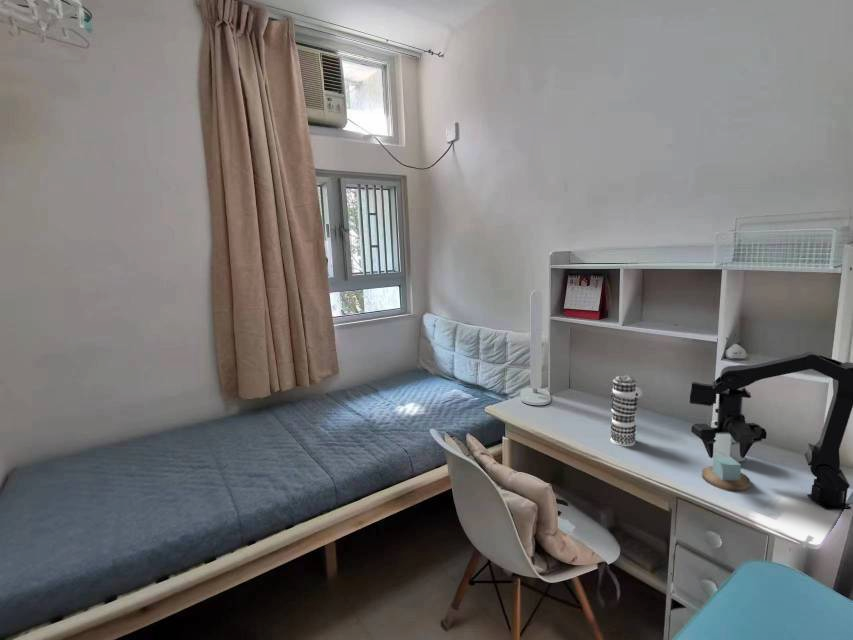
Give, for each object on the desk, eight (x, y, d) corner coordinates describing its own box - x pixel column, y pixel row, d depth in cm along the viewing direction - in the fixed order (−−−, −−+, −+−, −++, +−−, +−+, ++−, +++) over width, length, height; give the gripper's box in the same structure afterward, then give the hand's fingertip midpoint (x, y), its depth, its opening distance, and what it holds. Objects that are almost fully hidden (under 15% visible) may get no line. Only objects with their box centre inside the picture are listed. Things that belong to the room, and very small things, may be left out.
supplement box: (729, 465, 139) (731, 428, 137) (708, 455, 146) (710, 420, 144) (746, 461, 141) (748, 425, 139) (724, 451, 148) (727, 417, 146)
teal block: (729, 471, 132) (730, 456, 131) (739, 480, 127) (741, 464, 126) (712, 471, 132) (713, 456, 131) (722, 480, 127) (723, 464, 127)
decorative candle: (617, 433, 165) (619, 372, 161) (641, 441, 158) (643, 377, 154) (604, 440, 160) (605, 377, 156) (628, 449, 153) (630, 382, 149)
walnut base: (733, 470, 135) (733, 465, 135) (759, 491, 124) (760, 486, 123) (694, 470, 136) (694, 466, 136) (716, 491, 124) (717, 486, 124)
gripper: (713, 419, 119) (710, 471, 121) (783, 418, 118) (778, 470, 120) (691, 405, 130) (689, 453, 132) (755, 404, 129) (751, 452, 131)
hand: (726, 457), depth 129 cm, fingers open, 9 cm apart
